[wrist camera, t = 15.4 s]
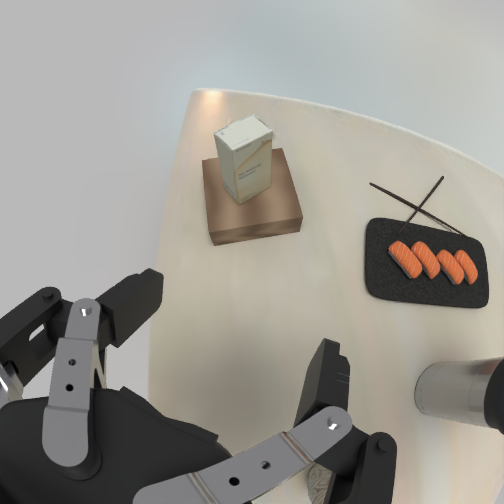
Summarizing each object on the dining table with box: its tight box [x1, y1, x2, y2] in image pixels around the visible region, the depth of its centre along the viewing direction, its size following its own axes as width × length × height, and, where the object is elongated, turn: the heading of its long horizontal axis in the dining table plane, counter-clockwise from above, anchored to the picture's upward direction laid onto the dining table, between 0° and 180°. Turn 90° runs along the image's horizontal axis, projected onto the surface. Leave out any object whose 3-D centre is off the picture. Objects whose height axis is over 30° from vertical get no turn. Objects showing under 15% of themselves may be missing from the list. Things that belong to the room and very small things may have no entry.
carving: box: [308, 463, 332, 504], centre depth 25 cm, size 6×8×12 cm
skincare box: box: [214, 114, 272, 205], centre depth 37 cm, size 6×4×12 cm
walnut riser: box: [202, 148, 303, 246], centre depth 45 cm, size 14×14×5 cm
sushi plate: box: [366, 176, 489, 308], centre depth 43 cm, size 29×30×4 cm
